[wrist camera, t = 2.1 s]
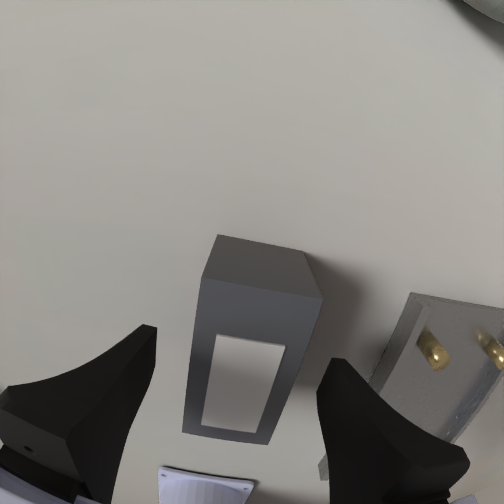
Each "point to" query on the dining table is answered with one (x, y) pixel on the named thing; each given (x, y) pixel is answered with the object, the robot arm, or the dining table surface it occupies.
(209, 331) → the block
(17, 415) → the robot arm
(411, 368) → the tray
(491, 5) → the air freshener
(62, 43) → the dining table surface
